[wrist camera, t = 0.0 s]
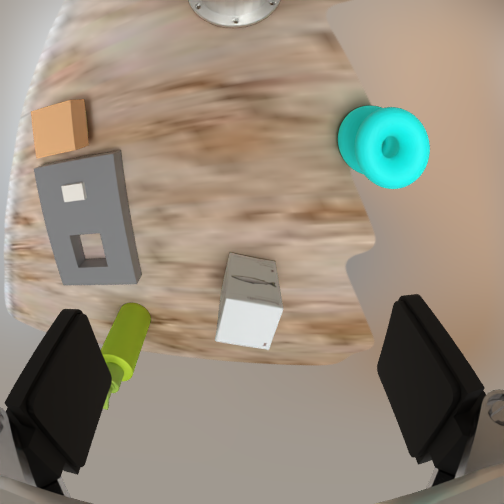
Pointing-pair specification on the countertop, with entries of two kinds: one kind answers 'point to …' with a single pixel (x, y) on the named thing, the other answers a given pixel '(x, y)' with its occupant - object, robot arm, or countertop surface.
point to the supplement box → (249, 302)
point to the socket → (89, 218)
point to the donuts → (384, 145)
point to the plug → (60, 128)
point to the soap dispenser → (125, 344)
